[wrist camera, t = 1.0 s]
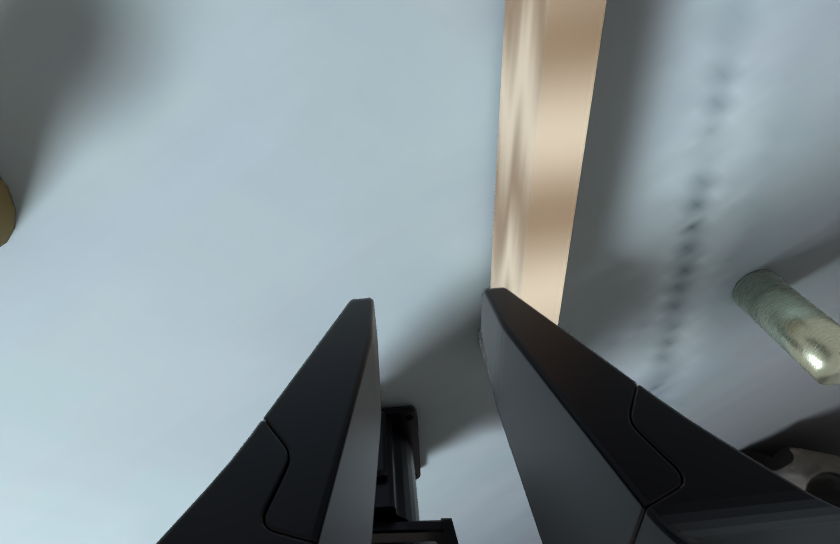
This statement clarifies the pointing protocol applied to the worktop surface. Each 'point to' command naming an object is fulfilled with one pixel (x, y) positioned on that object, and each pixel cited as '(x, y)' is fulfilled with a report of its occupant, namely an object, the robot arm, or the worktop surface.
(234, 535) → the robot arm
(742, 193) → the worktop surface
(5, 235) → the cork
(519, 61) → the light brown wooden plank
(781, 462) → the grey lumpy mass
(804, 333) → the gate posts
